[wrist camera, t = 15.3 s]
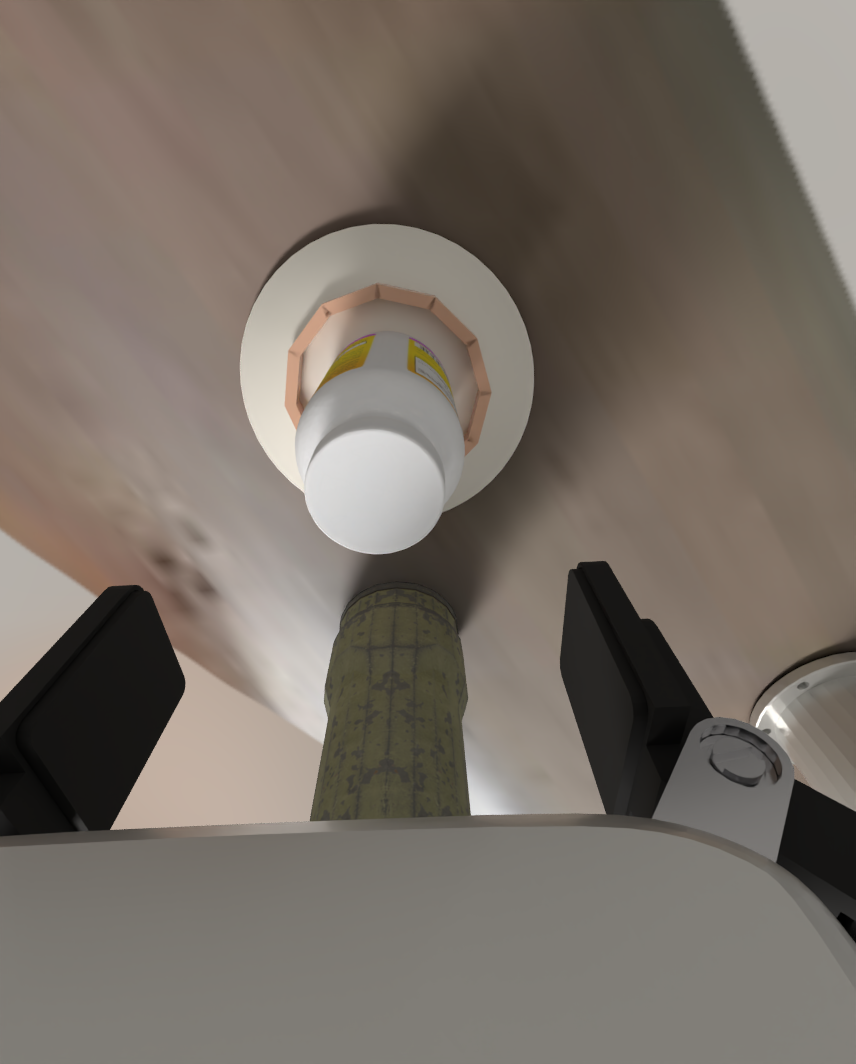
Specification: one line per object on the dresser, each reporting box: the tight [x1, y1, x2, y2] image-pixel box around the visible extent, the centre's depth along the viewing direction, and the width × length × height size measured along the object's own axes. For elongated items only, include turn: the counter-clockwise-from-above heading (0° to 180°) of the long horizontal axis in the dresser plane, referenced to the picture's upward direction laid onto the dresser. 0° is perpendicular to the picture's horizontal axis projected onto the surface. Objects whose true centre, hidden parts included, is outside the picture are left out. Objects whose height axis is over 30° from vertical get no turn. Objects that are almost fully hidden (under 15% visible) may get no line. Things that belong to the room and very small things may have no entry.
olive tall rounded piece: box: [310, 582, 471, 821], centre depth 22 cm, size 9×12×35 cm
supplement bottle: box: [295, 331, 465, 554], centre depth 22 cm, size 7×7×13 cm
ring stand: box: [240, 224, 534, 512], centre depth 27 cm, size 16×16×2 cm
